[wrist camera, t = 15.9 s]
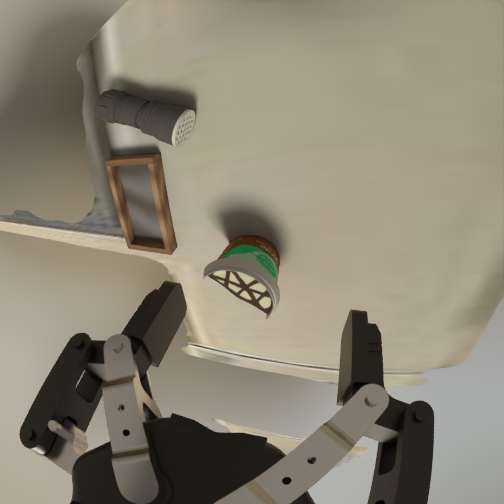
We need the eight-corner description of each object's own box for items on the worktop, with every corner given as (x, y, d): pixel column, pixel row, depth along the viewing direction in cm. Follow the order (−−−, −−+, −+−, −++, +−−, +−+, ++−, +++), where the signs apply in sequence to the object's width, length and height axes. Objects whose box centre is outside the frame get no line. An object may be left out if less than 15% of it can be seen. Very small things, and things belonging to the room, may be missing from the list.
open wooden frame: (114, 156, 42) (105, 161, 40) (160, 152, 40) (152, 157, 38) (134, 241, 52) (128, 248, 50) (177, 246, 50) (171, 254, 48)
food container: (302, 258, 45) (295, 301, 37) (280, 278, 49) (269, 321, 41) (241, 213, 43) (220, 250, 35) (222, 238, 47) (199, 276, 39)
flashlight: (91, 124, 33) (91, 93, 29) (113, 111, 37) (115, 82, 33) (172, 153, 34) (178, 118, 30) (191, 137, 37) (198, 105, 33)
